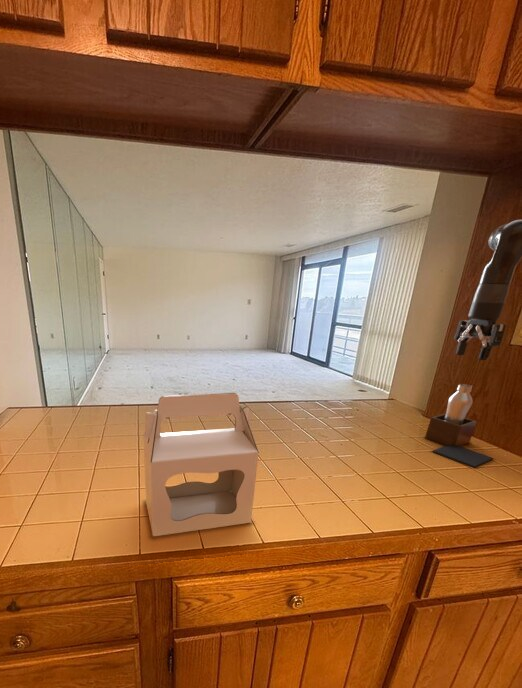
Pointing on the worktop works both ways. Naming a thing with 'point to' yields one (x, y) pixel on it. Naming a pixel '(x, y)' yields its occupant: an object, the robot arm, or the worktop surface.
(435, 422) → the holder
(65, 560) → the worktop surface
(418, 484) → the worktop surface
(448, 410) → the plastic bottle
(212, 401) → the gable box
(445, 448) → the mat
